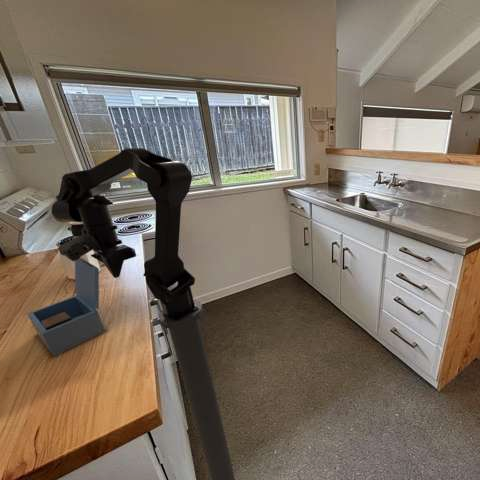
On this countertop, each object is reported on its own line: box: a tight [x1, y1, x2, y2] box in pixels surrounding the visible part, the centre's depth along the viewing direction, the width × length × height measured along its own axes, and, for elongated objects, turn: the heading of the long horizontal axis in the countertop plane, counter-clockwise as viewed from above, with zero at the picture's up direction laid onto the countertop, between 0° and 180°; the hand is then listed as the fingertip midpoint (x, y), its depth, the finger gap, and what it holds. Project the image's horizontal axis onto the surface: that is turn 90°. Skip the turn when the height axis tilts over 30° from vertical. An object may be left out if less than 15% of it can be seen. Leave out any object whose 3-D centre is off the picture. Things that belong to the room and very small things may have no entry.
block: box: [41, 312, 71, 330], centre depth 62 cm, size 4×4×4 cm
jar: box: [57, 242, 102, 280], centre depth 92 cm, size 9×8×12 cm
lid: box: [74, 258, 100, 310], centre depth 65 cm, size 10×14×1 cm
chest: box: [26, 294, 106, 357], centre depth 63 cm, size 10×14×6 cm
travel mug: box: [68, 221, 105, 267], centre depth 99 cm, size 8×8×18 cm
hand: (116, 277), depth 71 cm, fingers closed
